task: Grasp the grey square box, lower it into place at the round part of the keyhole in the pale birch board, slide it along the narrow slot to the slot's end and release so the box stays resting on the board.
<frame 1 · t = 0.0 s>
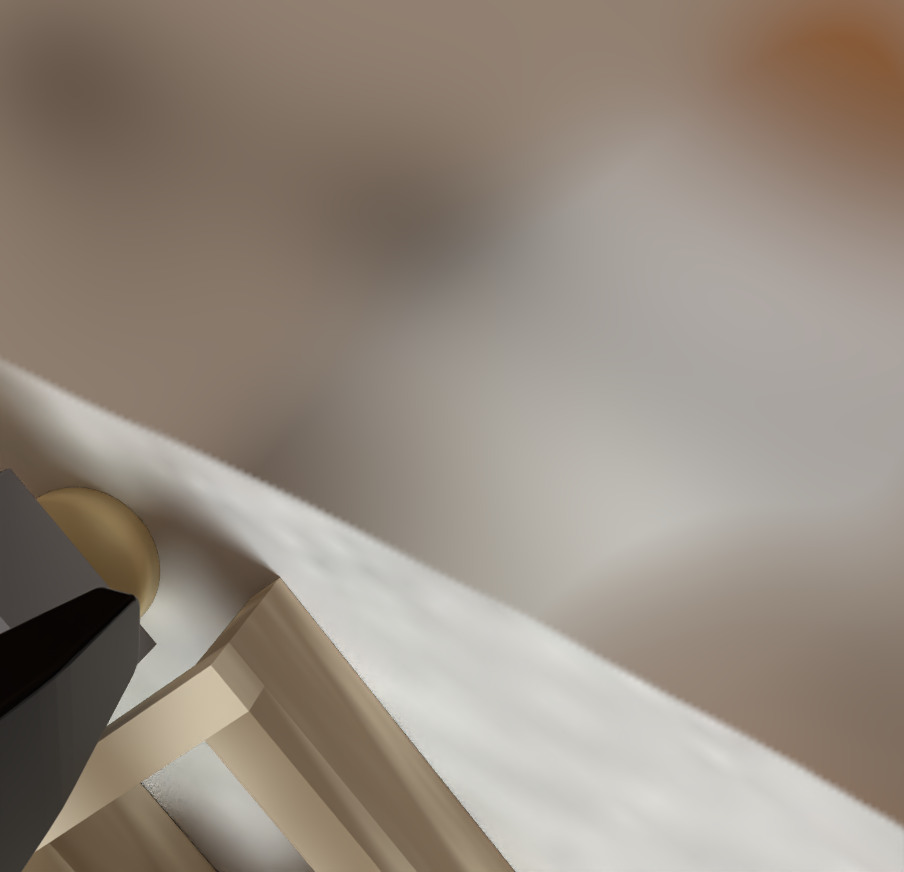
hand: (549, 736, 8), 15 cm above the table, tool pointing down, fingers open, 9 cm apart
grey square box: (84, 562, 26), on the table
keyhole board: (314, 839, 27), on the table
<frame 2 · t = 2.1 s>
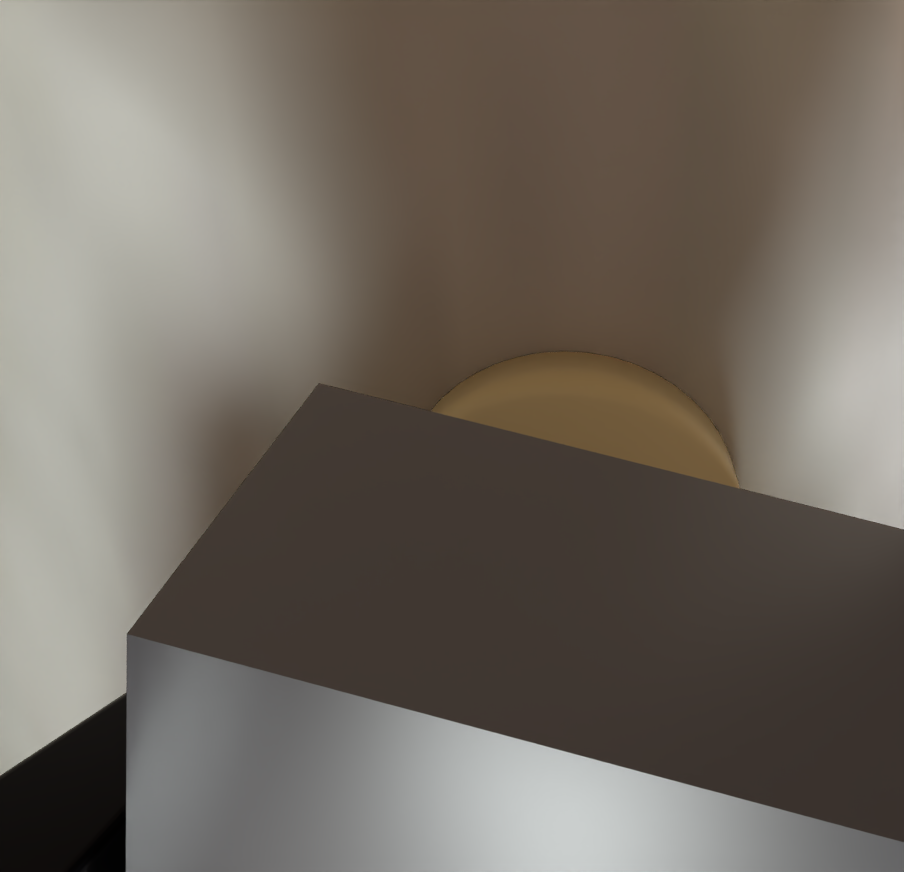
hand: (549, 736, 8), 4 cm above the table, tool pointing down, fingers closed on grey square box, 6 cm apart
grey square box: (563, 506, 12), on the table, touching gripper
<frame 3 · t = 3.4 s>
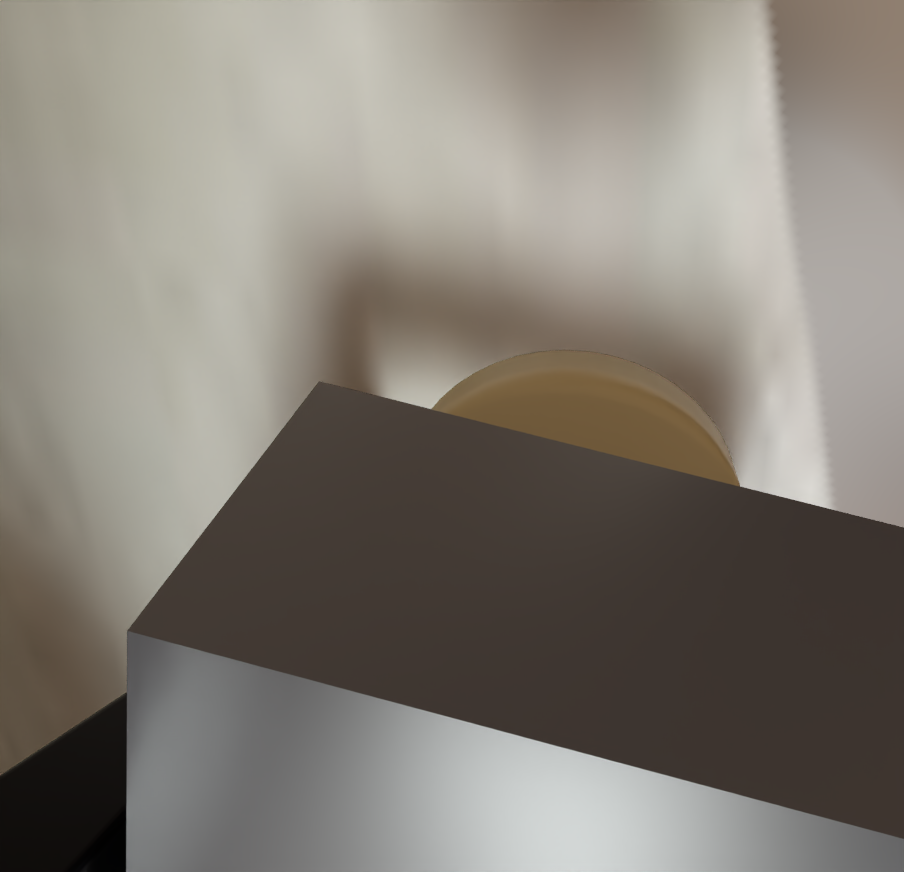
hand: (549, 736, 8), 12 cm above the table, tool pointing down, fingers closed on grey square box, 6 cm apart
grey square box: (564, 505, 12), point 7 cm above the table, touching gripper
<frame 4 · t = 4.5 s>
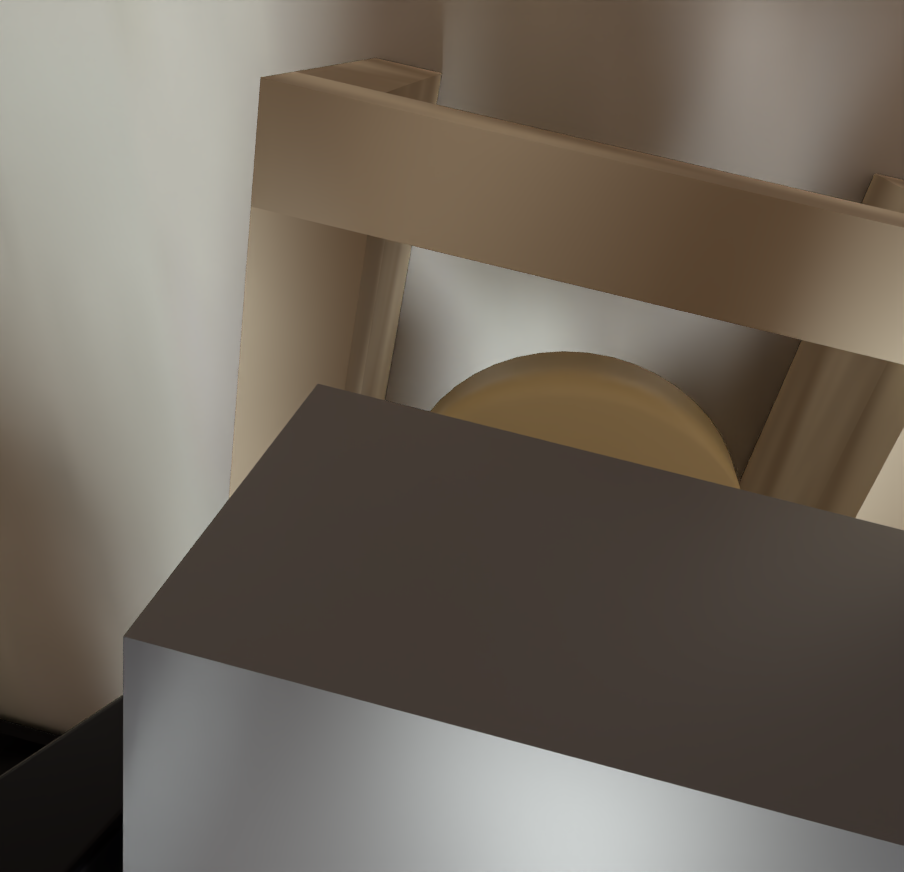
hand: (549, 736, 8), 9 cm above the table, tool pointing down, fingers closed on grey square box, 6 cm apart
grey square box: (563, 507, 12), point 5 cm above the table, touching gripper
keyhole board: (541, 502, 18), on the table
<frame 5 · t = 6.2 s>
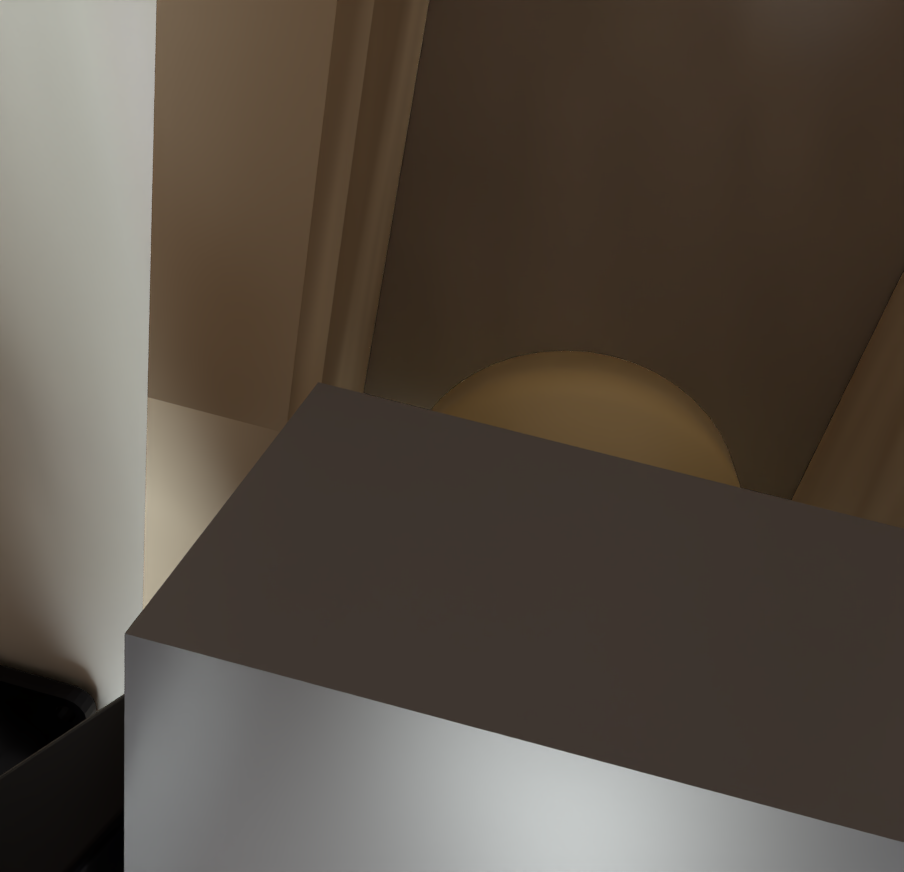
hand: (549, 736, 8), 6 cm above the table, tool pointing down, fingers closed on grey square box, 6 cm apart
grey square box: (564, 506, 12), point 2 cm above the table, touching gripper
keyhole board: (619, 305, 13), on the table
when the fingers open (6 cm above the table, at t = 7.3 s): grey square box stays where it is, resting on keyhole board.
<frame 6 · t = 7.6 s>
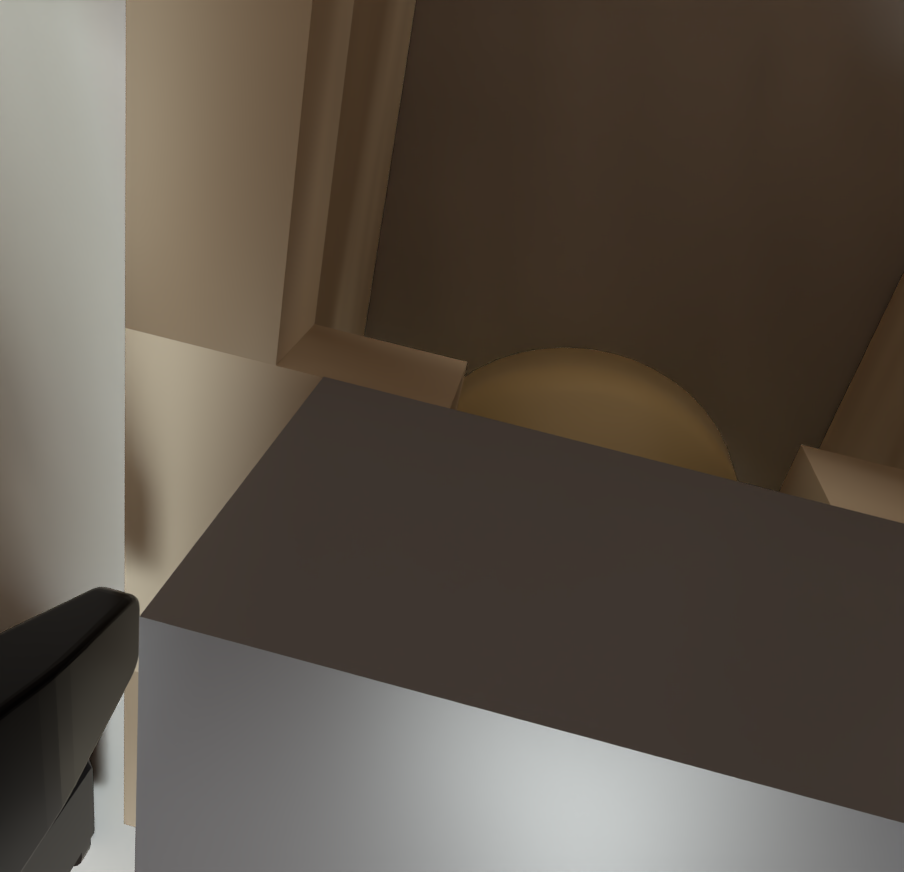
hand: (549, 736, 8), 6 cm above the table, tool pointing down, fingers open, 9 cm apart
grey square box: (564, 501, 12), point 2 cm above the table, touching keyhole board
keyhole board: (630, 254, 12), on the table
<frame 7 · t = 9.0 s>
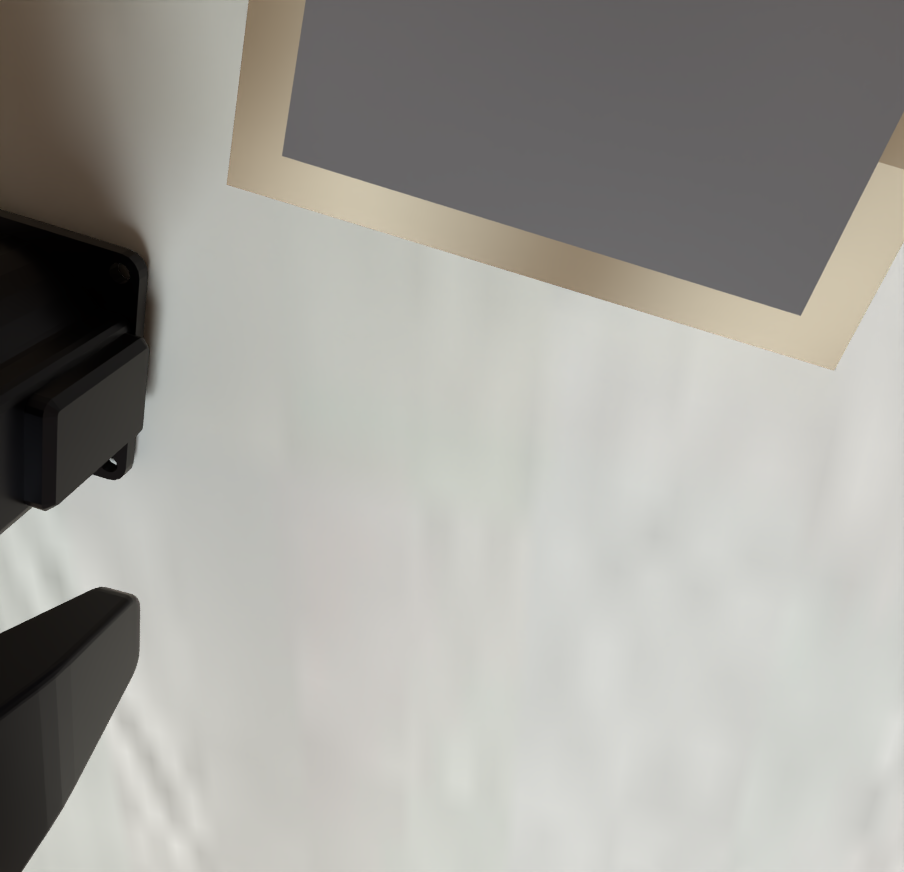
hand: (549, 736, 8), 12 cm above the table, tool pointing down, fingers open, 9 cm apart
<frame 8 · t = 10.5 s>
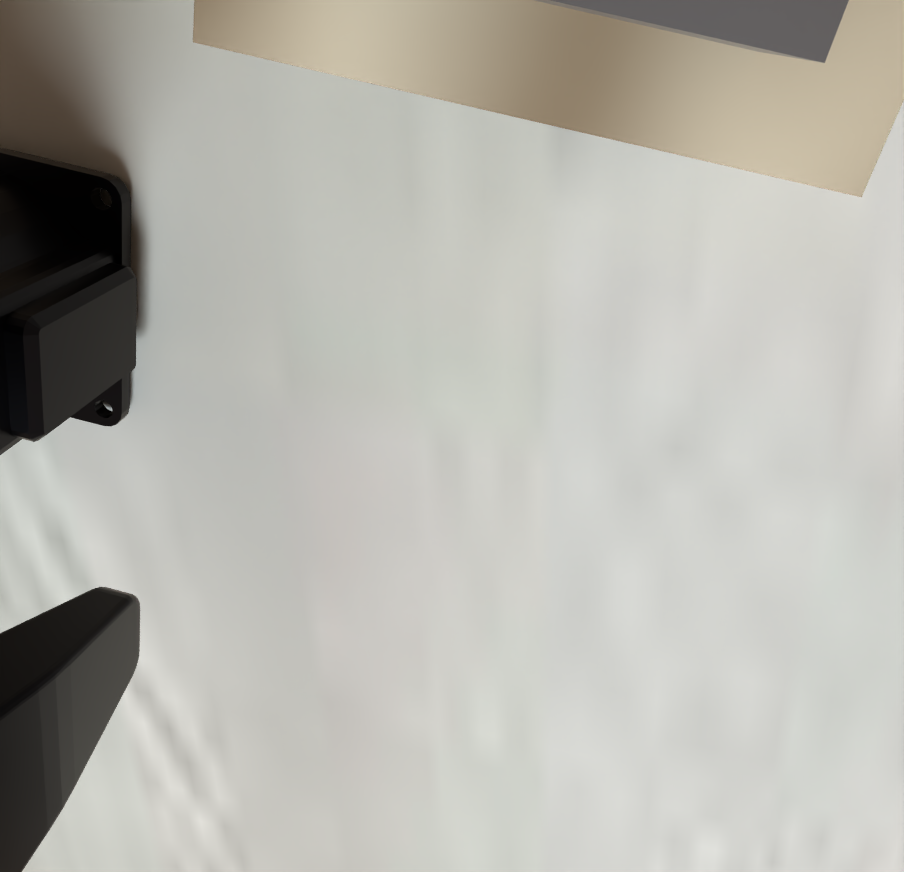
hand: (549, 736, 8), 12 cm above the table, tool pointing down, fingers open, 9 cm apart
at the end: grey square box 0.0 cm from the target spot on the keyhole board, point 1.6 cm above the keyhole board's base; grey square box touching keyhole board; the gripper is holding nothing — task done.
